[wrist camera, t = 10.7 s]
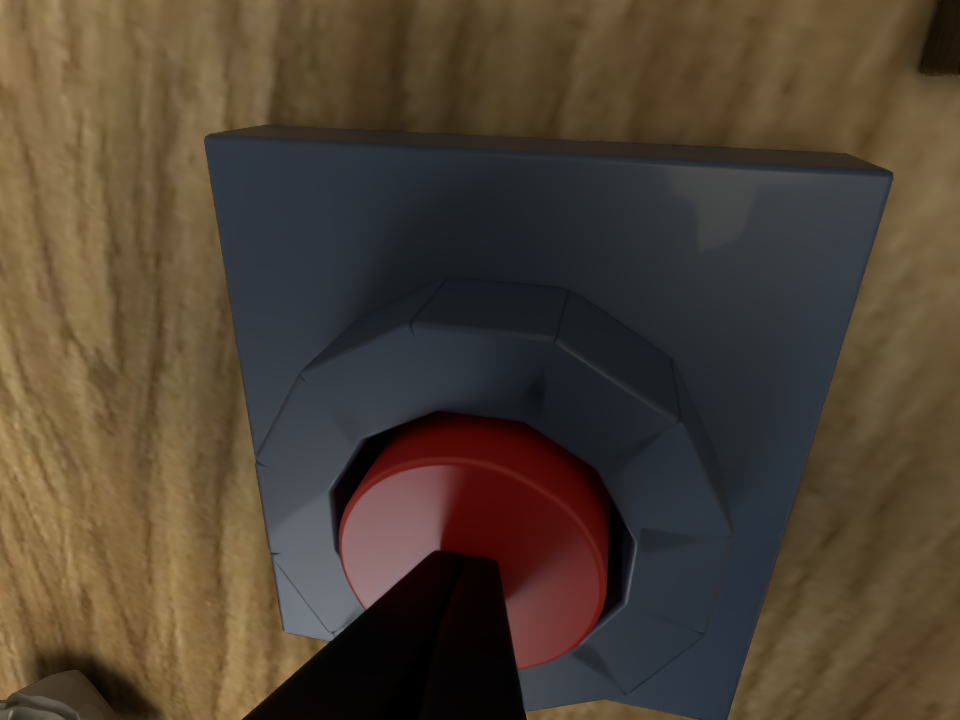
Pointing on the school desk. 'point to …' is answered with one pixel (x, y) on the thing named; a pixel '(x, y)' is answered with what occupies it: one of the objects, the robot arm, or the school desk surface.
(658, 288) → the button block
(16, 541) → the school desk surface
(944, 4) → the lever bracket
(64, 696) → the figurine
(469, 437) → the red button
